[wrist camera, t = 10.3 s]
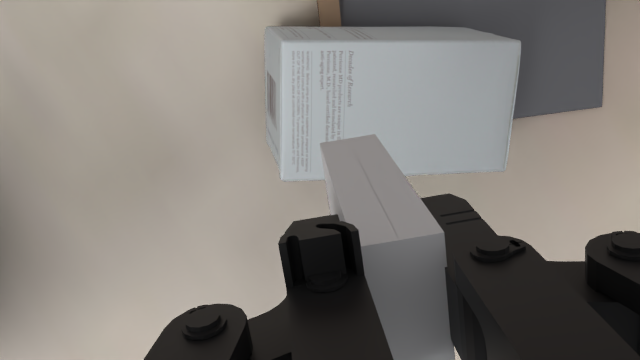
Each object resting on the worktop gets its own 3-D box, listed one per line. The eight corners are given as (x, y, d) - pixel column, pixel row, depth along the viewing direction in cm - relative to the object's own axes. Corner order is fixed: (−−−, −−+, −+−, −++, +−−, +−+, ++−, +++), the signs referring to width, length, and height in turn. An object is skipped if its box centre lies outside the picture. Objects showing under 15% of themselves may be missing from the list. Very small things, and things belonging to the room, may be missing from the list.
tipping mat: (333, 141, 40) (334, 145, 39) (306, -91, 35) (307, -93, 34) (599, 105, 40) (609, 109, 39) (607, -128, 36) (618, -131, 34)
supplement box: (279, 185, 31) (510, 175, 33) (278, 36, 28) (527, 36, 31) (265, 147, 38) (457, 140, 40) (263, 24, 35) (467, 24, 38)
